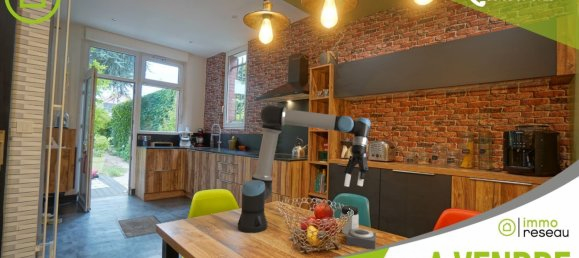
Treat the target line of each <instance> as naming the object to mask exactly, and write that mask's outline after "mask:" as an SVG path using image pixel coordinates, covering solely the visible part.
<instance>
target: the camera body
mask: <svg viewBox="0 0 579 258" xmlns="http://www.w3.org/2000/svg"><path fill="white" fill-rule="evenodd" d="M345 242H346V243H345V244H346V246H351V247H357V248H365V249H370V248H371V250H375V249H376V244H377V232H374V231H371V230H369V229H364V228H358V229H350V230H349V232H348V234H346V241H345Z"/></svg>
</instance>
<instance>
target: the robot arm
mask: <svg viewBox="0 0 579 258" xmlns="http://www.w3.org/2000/svg"><path fill="white" fill-rule="evenodd" d="M259 116H260V121H261V123H262V124H261V129H262V131H263V134H262V138H261V144H260V149H259V153H258V154H259V155H258V159H257V165H256V170H255V173H254V174H252V176H251V180H246V181H245V182H243V183H242V185H241V186H242V187H241V213H240V217H239V219H238V221H237V230H238V231H240V232H243V233H249V234H250V233H261V232H264V231H266V230H268V221H267V217H266V213H265V205H266V204H265V201H266V200H267V199H269V198H270V196H271V195H272V191H273V186H272V185H273V181H274V180H273V178H272V176H271V175H272V170H273V167H274V166H273V165H274V159H275V155H276V149H277V144H278V139H279V134H281V133H282V132H283V127H284V126H285V125H291V126H299V127H306V128H313V129H320V130H321V129H322V130H330V131H335V132H337V133H343V134H350V135H353V138H352V145H351V149H350V151H351V153H352V155H349V157H348V161H347V163H346V166H345V168H344V170H343V173H345V176H344V177H345V178H344V183H343V187H348V188H350V184H351V177H352V172H353V171H354V169H355V167H356V166H357V165H358V168H359V169H358V170H359V171H358V176H357V183H356V186H359V187H363V185H364V181H365V175H366V173H367V172H369V166H368V165H369V164H368V159H367V158H368V154H367V147H368V142H369V137H370V130H371V120H370V119H369V118H367V117H357V119H356V120H353V118H352V117H350V116H349V115H343V116H342V115H335V114H327V113H318V112H310V111H303V110H295V109H288V108H286V106H280V105H276V104H267V105H264V106H263V107H262V109H261V110H260V112H259Z"/></svg>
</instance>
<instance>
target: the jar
mask: <svg viewBox="0 0 579 258" xmlns="http://www.w3.org/2000/svg"><path fill="white" fill-rule="evenodd" d="M348 208H350V209H352V210H353V211H354V215H353V216H352V217H351V218H350V219H349V221H348V222H347V223H346V224H345V225H344V227H343V229H342V231H341V230H340V231H341V233H342V234H343V235H347V234H348V232H349V230H350V229H359V217H360V216H359V208H358V207H357V206H356V207H355V206H353V205H352V206H351V205H344V206H341V209H340V210H341V212H340V218H341V217H343V216H345V215H346V214H347V212H348V211H350V210H349V209H348Z"/></svg>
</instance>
